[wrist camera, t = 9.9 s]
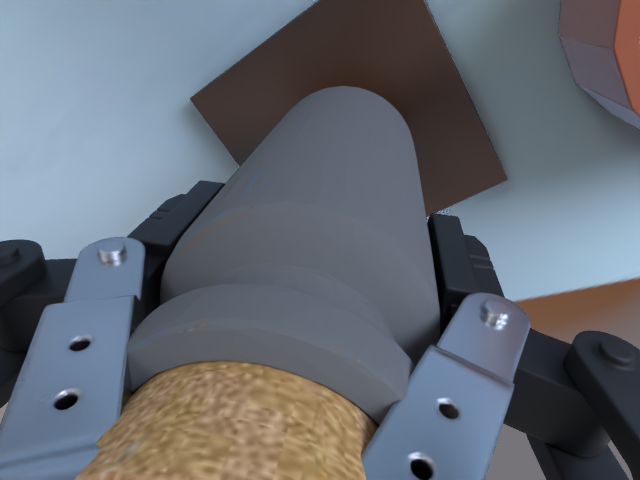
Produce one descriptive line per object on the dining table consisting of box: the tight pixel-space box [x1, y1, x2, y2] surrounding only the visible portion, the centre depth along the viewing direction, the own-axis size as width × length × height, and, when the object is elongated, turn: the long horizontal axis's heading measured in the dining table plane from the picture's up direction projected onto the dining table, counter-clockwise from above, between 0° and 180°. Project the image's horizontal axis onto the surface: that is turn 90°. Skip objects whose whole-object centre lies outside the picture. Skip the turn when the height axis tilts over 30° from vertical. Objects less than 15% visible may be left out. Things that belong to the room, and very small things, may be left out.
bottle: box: [75, 86, 440, 480], centre depth 11 cm, size 6×6×15 cm
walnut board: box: [190, 0, 508, 217], centre depth 20 cm, size 11×11×1 cm
